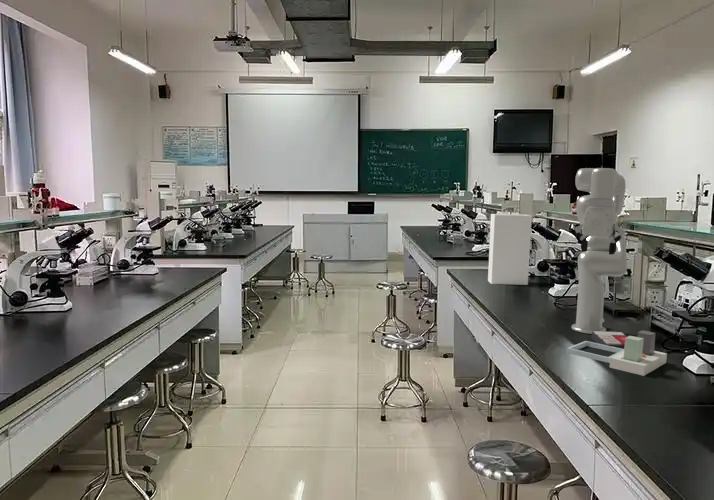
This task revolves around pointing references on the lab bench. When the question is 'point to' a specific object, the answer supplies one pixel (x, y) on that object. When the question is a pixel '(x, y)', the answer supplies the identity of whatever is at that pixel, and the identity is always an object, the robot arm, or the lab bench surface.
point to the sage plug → (633, 349)
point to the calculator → (609, 338)
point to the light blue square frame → (576, 351)
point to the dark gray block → (647, 342)
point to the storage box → (509, 249)
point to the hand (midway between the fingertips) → (597, 252)
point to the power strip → (638, 368)
